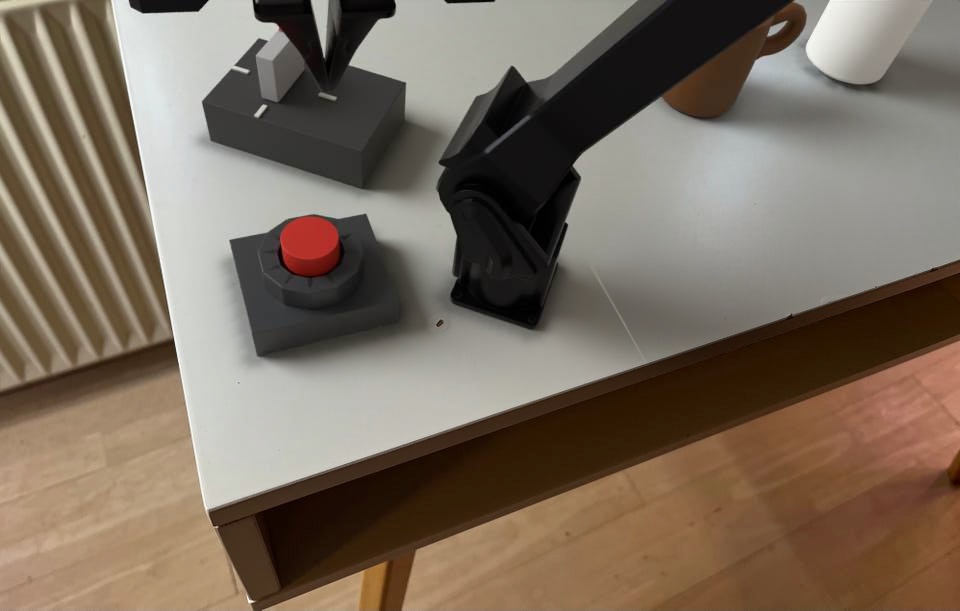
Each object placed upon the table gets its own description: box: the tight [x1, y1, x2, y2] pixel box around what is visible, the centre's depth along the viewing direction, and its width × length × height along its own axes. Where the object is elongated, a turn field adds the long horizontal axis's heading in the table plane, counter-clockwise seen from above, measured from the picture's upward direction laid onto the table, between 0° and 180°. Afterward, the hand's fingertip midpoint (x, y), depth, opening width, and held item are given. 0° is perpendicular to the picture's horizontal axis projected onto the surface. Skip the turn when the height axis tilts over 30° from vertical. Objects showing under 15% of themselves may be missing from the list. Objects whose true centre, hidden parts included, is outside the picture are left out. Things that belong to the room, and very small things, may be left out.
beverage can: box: [805, 0, 934, 85], centre depth 71 cm, size 8×8×12 cm
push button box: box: [228, 213, 400, 357], centre depth 50 cm, size 10×8×4 cm
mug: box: [661, 1, 808, 118], centre depth 67 cm, size 12×8×9 cm, turn 104°
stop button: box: [280, 217, 340, 277], centre depth 47 cm, size 4×4×2 cm
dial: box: [256, 27, 305, 103], centre depth 56 cm, size 5×1×4 cm, turn 162°
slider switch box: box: [201, 37, 407, 190], centre depth 59 cm, size 13×9×4 cm
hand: (327, 88), depth 45 cm, fingers closed
